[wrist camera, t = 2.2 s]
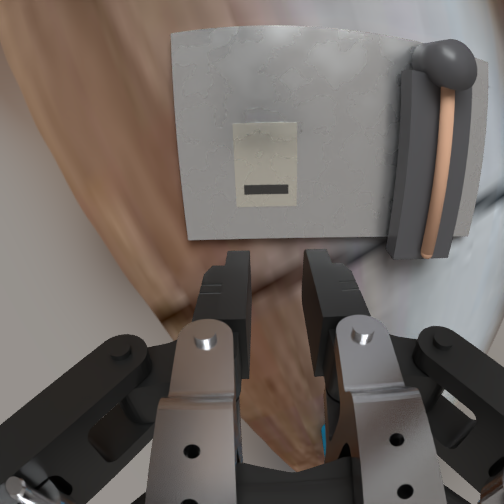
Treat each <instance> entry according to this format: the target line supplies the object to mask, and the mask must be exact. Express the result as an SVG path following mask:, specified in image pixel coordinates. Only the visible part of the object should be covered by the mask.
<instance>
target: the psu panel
mask: <svg viewBox="0 0 504 504" xmlns="http://www.w3.org/2000/svg"><path fill="white" fill-rule="evenodd" d="M421 44H425V43H421V42H417V41H412V40H408V39H403V38H398V37H393V36H387V35H381V34H375V33H369V32H362V31H354V30H345V29H335V28H324V27H308V26H238V27H223V28H211V29H201V30H192V31H184V32H177V33H171V55H172V75H173V92H174V107H175V120H176V132H177V144H178V155H179V165H180V175H181V184H182V193H183V202H184V210H185V219H186V227H187V234H188V240H216V239H259V238H313V237H388V233H389V226H390V220H391V212H392V205H393V197H394V189H395V180H396V170H397V159H398V147H399V132H400V112H401V71H403V70H413V67H412V55H413V52H414V50H415V49H416V48H417V47H418V46H419V45H421ZM475 60H476V64H477V78H476V81H475V83H474V84H473V86H472V110H471V125H470V137H469V147H468V156H467V163H466V171H465V177H464V184H463V190H462V196H461V201H460V206H459V211H458V216H457V221H456V226H455V230H454V235H453V236H468V234H469V230H470V226H471V222H472V217H473V212H474V208H475V203H476V198H477V192H478V187H479V181H480V175H481V168H482V161H483V153H484V144H485V134H486V123H487V107H488V62H485V61H483V60H480V59H477V58H475Z"/></svg>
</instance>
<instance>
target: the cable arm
mask: <svg viewBox="0 0 504 504" xmlns="http://www.w3.org/2000/svg"><path fill="white" fill-rule="evenodd" d="M412 67H413V70H403V71H401V112H400V132H399V147H398V159H397V170H396V180H395V189H394V197H393V205H392V212H391V220H390V226H389V233H388V239H387V245H386V250H387V251H388V253H389V254H390V255H391V257H392V258H393V260H394V259H429V258H448V255H449V251H450V247H451V243H452V239H453V235H454V230H455V226H456V221H457V216H458V211H459V206H460V201H461V196H462V190H463V184H464V177H465V171H466V163H467V156H468V147H469V137H470V125H471V110H472V86H473V84H474V83H475V81H476V78H477V64H476V60H475V58H474V55H473V54H472V52H471V51H470V49H469V48H468V47H467V46H466V45H465V44H463V43H462V42H460V41H458V40H454V39H448V40H442V41H436V42H430V43H425V44H421V45H419V46H418V47H417V48H416V49H415V50H414V52H413V55H412Z"/></svg>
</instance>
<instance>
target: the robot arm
mask: <svg viewBox="0 0 504 504" xmlns="http://www.w3.org/2000/svg"><path fill="white" fill-rule="evenodd" d="M355 281H356V280H355V278H354V276H353V274H352V271H351V270H349V269H348V268H347V267H346V266H345V265H343V264H342V263H332V262H331V259H330V257H329V254H328V252H327V250H326V249H308V250H305V251H304V260H303V278H302V305H303V311H304V317H305V323H306V329H307V334H308V340H309V346H310V353H311V359H312V365H313V371H314V377H317V376H324V379H325V389H324V394H323V399H324V416H325V435H326V454H325V460H324V464H323V465H320V466H316V467H313V468H310V469H307V470H304V471H300V472H293V473H291V472H284V471H279V470H274V469H269V468H264V467H259V466H254V465H250V464H246V463H243V456H242V439H241V418H240V398H239V395H240V392H241V379H249V371H250V339H251V306H252V297H251V270H250V251H228V253H227V258H226V264H225V266H212V267H211V268H210V269H209V270H208V271H207V272H206V273H205V274H204V277H203V281H202V286H201V288H200V294H199V296H198V300H197V304H196V307H195V311H194V315H193V319H192V323H189V324H188V325H186V326H185V327H184V328H183V329H182V330H181V331H180V333H179V335H178V339H177V340H175V341H173V342H170V343H167V344H163V345H158V346H152V347H147V345H146V343H145V342H144V341H143V340H142V339H141V338H140V337H138V336H135V335H129V334H124V335H118V336H115V337H112V338H110V339H108V340H107V341H105V342H104V343H103V344H101V345H100V346H99V347H97V348H96V349H95V350H94V351H92V352H91V353H90V354H88V355H87V356H86V357H85V358H83V359H82V360H81V361H80V362H78V363H77V364H76V365H74V366H73V367H72V368H71V369H69V370H68V371H67V372H66V373H64V374H63V375H62V376H61V377H59V378H58V379H57V380H56V381H54V382H53V383H52V384H51V385H50V386H48V387H47V388H46V389H44V390H43V391H42V392H41V393H39V394H38V395H37V396H36V397H34V398H33V399H32V400H31V401H29V402H28V403H27V404H26V405H25V406H23V407H22V408H21V409H20V410H18V411H17V412H16V413H15V414H13V415H12V416H11V417H10V418H8V419H7V420H6V421H5V422H3V423H2V424H1V425H0V504H86V503H87V502H88V501H89V500H90V499H91V498H93V497H94V496H95V495H96V494H97V493H98V492H99V491H100V490H101V489H102V488H103V487H104V486H105V485H106V484H107V483H108V482H109V481H110V480H111V479H112V478H114V477H115V476H116V475H117V474H118V473H119V472H120V471H121V470H122V469H123V468H124V467H125V466H126V465H127V464H128V463H129V462H130V461H131V460H132V459H133V458H134V457H135V456H136V455H137V454H138V453H139V452H140V451H141V450H142V449H143V448H144V447H145V446H146V445H147V444H148V443H149V442H150V441H151V440H152V439H153V442H152V449H151V457H150V464H149V473H148V481H147V489H146V492H145V493H144V494H142V495H141V496H140V497H139V498H137V499H136V500H135V501H134V502H132V503H131V504H471V503H469V502H468V501H466V500H465V499H463V498H462V497H461V496H459V495H458V494H456V493H455V492H453V491H452V490H450V489H449V488H448V487H446V486H445V485H444V484H443V480H442V476H441V471H440V466H439V462H438V457H437V455H438V456H439V457H440V458H441V459H443V460H444V461H445V462H446V463H447V464H448V465H449V466H451V468H453V469H454V470H455V471H456V472H457V473H459V475H461V477H463V478H464V479H465V480H466V481H467V482H468V483H469V484H471V485H472V486H473V487H474V488H475V489H476V490H477V491H478V492H479V493H481V495H480V500H479V502H478V504H504V367H502V366H501V365H500V364H498V363H497V362H496V361H494V360H493V359H492V358H490V357H489V356H487V355H486V354H485V353H483V352H482V351H481V350H479V349H478V348H476V347H475V346H474V345H472V344H471V343H469V342H468V341H467V340H465V339H464V338H462V337H461V336H460V335H458V334H457V333H455V332H454V331H452V330H450V329H448V328H445V327H441V326H431V327H428V328H425V329H424V330H423V331H421V333H420V334H419V337H418V339H410V338H404V337H397V336H393V335H390V334H389V333H388V330H387V328H386V326H385V325H384V324H383V323H382V322H380V321H379V320H377V319H376V318H373V317H371V315H370V313H369V311H368V308H367V306H366V303H365V301H364V299H363V296H362V294H361V292H360V290H359V287H358V285H357V283H356V282H355ZM444 389H445V390H447V391H448V392H449V393H450V394H451V395H453V396H454V397H455V398H456V399H458V400H459V401H460V402H461V403H463V404H464V405H465V406H466V407H467V408H469V409H470V410H471V411H472V412H473V413H474V414H475V416H476V420H472V419H470V418H469V417H468V416H467V415H465V414H464V413H463V412H462V411H461V410H459V409H458V408H457V407H456V406H455V405H453V404H452V403H451V402H450V401H448V400H447V399H446V398H445V397H444V396H442V395H441V394H442V393H443V391H444ZM112 408H113V409H112ZM111 409H112V410H111ZM102 417H103V418H102ZM101 418H102V419H101Z"/></svg>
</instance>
